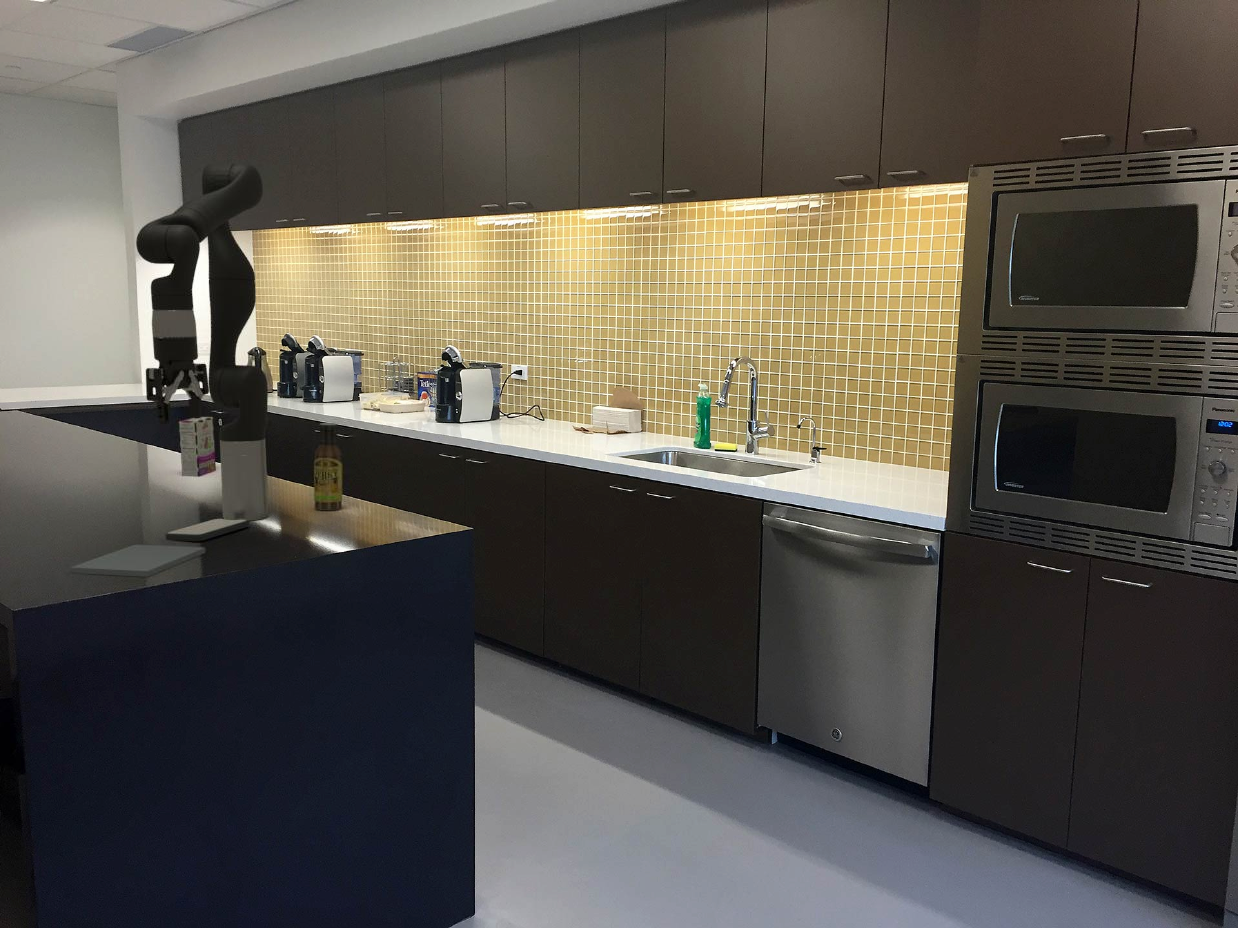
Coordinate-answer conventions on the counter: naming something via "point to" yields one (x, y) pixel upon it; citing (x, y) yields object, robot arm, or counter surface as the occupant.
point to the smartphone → (207, 530)
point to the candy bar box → (197, 446)
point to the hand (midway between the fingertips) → (180, 420)
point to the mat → (138, 560)
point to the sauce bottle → (328, 469)
